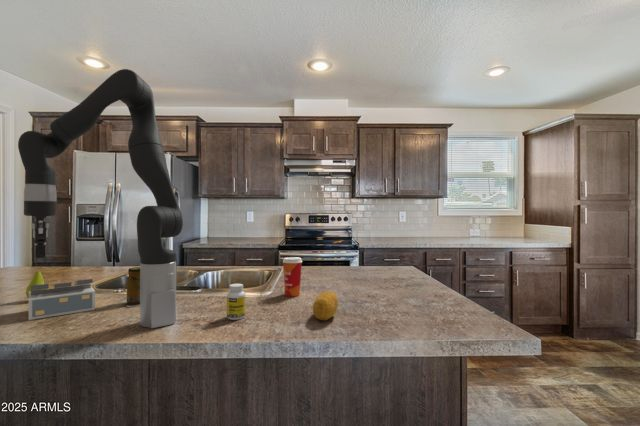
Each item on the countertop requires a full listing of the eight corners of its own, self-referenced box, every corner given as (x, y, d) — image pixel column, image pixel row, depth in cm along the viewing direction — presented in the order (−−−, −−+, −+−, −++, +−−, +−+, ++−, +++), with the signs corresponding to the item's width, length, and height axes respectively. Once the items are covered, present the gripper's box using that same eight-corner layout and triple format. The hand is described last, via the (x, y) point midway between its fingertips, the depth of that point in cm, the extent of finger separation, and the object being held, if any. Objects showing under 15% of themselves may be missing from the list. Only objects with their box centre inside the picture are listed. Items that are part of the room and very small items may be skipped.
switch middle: (71, 286, 103) (71, 281, 103) (54, 288, 100) (54, 283, 100) (68, 285, 110) (68, 281, 111) (53, 287, 108) (53, 283, 108)
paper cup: (280, 292, 129) (280, 257, 129) (299, 291, 132) (299, 256, 131) (284, 298, 122) (284, 260, 122) (304, 296, 124) (304, 259, 124)
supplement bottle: (226, 321, 96) (226, 287, 96) (226, 315, 101) (226, 283, 101) (245, 319, 97) (245, 286, 97) (244, 314, 103) (245, 282, 103)
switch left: (48, 287, 99) (48, 283, 100) (30, 289, 97) (30, 285, 97) (47, 288, 107) (47, 284, 107) (30, 290, 104) (30, 286, 104)
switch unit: (95, 310, 106) (95, 287, 106) (28, 320, 95) (28, 295, 95) (90, 301, 115) (90, 281, 115) (28, 310, 105) (28, 287, 105)
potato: (341, 311, 107) (341, 289, 106) (333, 326, 92) (333, 300, 92) (319, 309, 108) (319, 287, 108) (308, 324, 94) (308, 299, 94)
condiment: (145, 299, 120) (145, 265, 120) (151, 304, 113) (151, 269, 113) (122, 302, 115) (122, 267, 115) (126, 308, 108) (127, 271, 108)
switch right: (92, 282, 107) (92, 278, 107) (77, 284, 104) (77, 280, 104) (88, 284, 114) (88, 280, 114) (74, 285, 111) (74, 281, 112)
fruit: (25, 303, 112) (25, 268, 112) (26, 300, 117) (26, 266, 117) (47, 300, 116) (47, 266, 116) (47, 297, 121) (47, 264, 121)
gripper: (57, 199, 97) (57, 259, 97) (55, 200, 107) (55, 254, 107) (23, 199, 92) (23, 261, 92) (24, 200, 102) (24, 256, 102)
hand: (40, 257), depth 99 cm, fingers closed
